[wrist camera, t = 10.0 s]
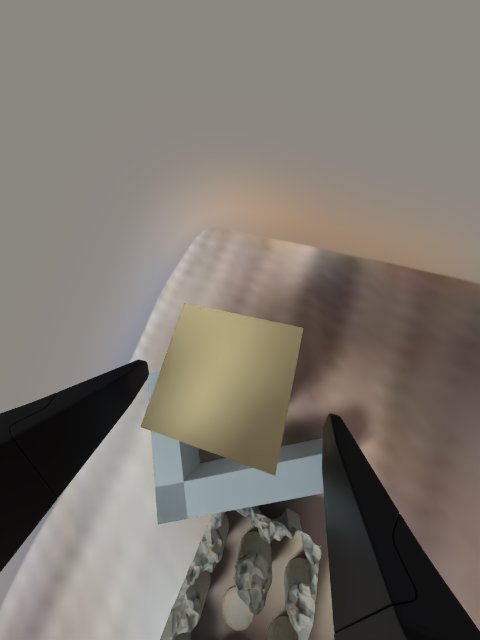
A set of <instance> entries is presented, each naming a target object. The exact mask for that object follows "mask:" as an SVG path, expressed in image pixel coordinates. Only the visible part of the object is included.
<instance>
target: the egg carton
mask: <svg viewBox="0 0 480 640" xmlns="http://www.w3.org/2000/svg"><path fill="white" fill-rule="evenodd" d="M236 511H237V512H239V513H240V514H241V515H242V516H244V517H248V516H250V515H251V521H252V524H253V525H254V526H256V527H257V529H258V531H259V532H258V531H251V532H248V533H247V534H245V535H244V537H243V538H242V540H241V543H240V547H239V552H238V557H237V562H236V566H235V577H234V579H235V584H236V586H233V587H231V588H229V589H228V590H227V592H226V593H225V595H224V597H223V601H222V613H223V616H224V619H225V621H226V623H227V625H228V626H229V627H231V628H232V629H234V630H235V631H238V630H239V631H240V630H245V629H247V628H248V627H249V626H250V624H251V622H252V621H253V617H254V615H257V614H258V613H259V612H260V611H261V610H262V609H263V607H264V605H265V600H266V596H267V593H268V590H269V587H270V585H271V582H272V551H271V545H270V542H271V541H272V540H273V539H276V540H277V541H281V540H282V538H283V537H284V536H285V535H286V536H288V537H289V538H290V539H293V537H294V534H295V532H296V531H299V532H300V533H301V536H302V541H303V547H304V551H305V554H306V559H303V558H294V559H292V560H290V561H289V563H288V564H287V566H286V568H285V574H284V585H285V602H286V605H285V609H286V611H287V613H288V616H289V617H287V616H280V617H277V618H276V619H275V620H273V621H272V622H271V624H270V627H269V631H268V640H308V638H309V635H310V632H311V629H312V626H313V622H314V612H315V604H316V594H317V581H318V569H319V560H320V559H321V552H322V545H320V546H318V545H316V544H315V543H314V542H313V541H312V539H311V537H310V536H309V535H308V534H306V533H304V532H302V528H301V522H300V518H299V514H297V513H295V512H293V511H291V510H290V509H285V511H284V513H283V514H282V515H281V516H280V517H278V518H274V519H271V518H267V517H266V516H264V515H263V514H262V513H261V512H260V510H259V508H258V506H253V507H247V508H242V509H237V510H236ZM228 531H229V521H228V518H227V516H226V514H225V512H221V513H215V514H213V516H212V518H211V520H210V522H209V524H208V526H207V529H206V531H205V533H204V536H203V538H202V541H201V542H200V545H199V547H198V550H197V552H196V555H195V558H194V560H193V562H192V564H191V566H190V568H189V570H188V573H187V576H186V578H185V580H184V583H183V585H182V587H181V590H180V592H179V594H178V597H177V599H176V601H175V603H174V606H173V608H172V610H171V613H170V615H169V618H168V621H167V623H166V626H165V628H164V631H163V634H162V636H161V639H160V640H191V632H192V630H193V628H194V627H195V626H196V625H197V623H198V621H199V619H200V617H201V613H202V610H203V607H204V603H205V600H206V597H207V593H208V590H209V586H210V579H211V576H210V572H213V570H214V568H215V566H216V564H217V563H218V562H219V561H220V560H221V559H222V555H223V548H224V545H225V541H226V538H227V534H228Z"/></svg>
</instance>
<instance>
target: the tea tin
mask: <svg viewBox="0 0 480 640" xmlns="http://www.w3.org/2000/svg"><path fill="white" fill-rule="evenodd" d="M302 333H303V328H302V327H297V326H293V325H288V324H283V323H278V322H273V321H269V320H264V319H259V318H254V317H250V316H245V315H240V314H235V313H230V312H226V311H221V310H216V309H211V308H206V307H202V306H197V305H192V304H187V303H184V305H183V308H182V311H181V313H180V316H179V319H178V322H177V325H176V328H175V331H174V333H173V336H172V339H171V342H170V345H169V348H168V351H167V353H166V356H165V359H164V362H163V365H162V368H161V370H160V373H159V376H158V379H157V382H156V385H155V388H154V390H153V393H152V396H151V399H150V402H149V405H148V408H147V410H146V413H145V416H144V419H143V422H142V425H141V427H142V428H145V429H147V430H150V431H153V432H156V433H159V434H161V435H164V436H167V437H170V438H172V439H175V440H178V441H181V442H183V443H186V444H189V445H192V446H194V447H197V448H200V449H203V450H205V451H208V452H211V453H214V454H216V455H219V456H222V457H225V458H228V459H230V460H233V461H236V462H239V463H241V464H244V465H247V466H250V467H252V468H255V469H258V470H261V471H263V472H266V473H269V474H272V475H274V476H275V475H276V470H277V464H278V459H279V454H280V449H281V443H282V438H283V433H284V428H285V422H286V417H287V412H288V406H289V401H290V396H291V391H292V385H293V380H294V375H295V370H296V364H297V359H298V354H299V349H300V343H301V338H302Z"/></svg>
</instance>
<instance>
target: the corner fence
mask: <svg viewBox="0 0 480 640" xmlns="http://www.w3.org/2000/svg"><path fill="white" fill-rule="evenodd" d="M159 373H160V371H159V372H155V373H151V374H149V376H148V392H149V402H150V399H151V396H152V393H153V390H154V388H155V385H156V382H157V379H158V376H159ZM151 435H152V449H153V463H154V477H155V491H156V505H157V519H158V524H162V523H167V522H173V521H178V520H183V519H189V518H194V517H199V516H205V515H210V514H215V513H221V512H226V511H231V510H237V509H242V508H247V507H253V506H258V505H263V504H269V503H274V502H279V501H285V500H290V499H296V498H301V497H306V496H312V495H317V494H322V493H324V491H323V477H322V448H323V438H319V439H314V440H310V441H305V442H300V443H295V444H290V445H285V446H281V449H280V454H279V459H278V464H277V470H276V475H275V476H274V475H272V474H269V473H266V472H263V471H261V470H258V469H255V468H252V467H250V466H247V465H244V464H241V463H239V462H236V461H233V460H230V459H228V458H222V459H217V460H213V461H208V462H203V463H200V455H199V448H197V447H194V446H192V445H189V444H186V443H183V442H181V441H178V440H175V439H172V438H170V437H167V436H164V435H161V434H159V433H156V432H153V431H151Z"/></svg>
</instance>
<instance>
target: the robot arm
mask: <svg viewBox="0 0 480 640" xmlns="http://www.w3.org/2000/svg"><path fill="white" fill-rule="evenodd" d="M148 376H149V370H148V365H147V362H146V361H143V360H136V361H134V362H131V363H129V364H126V365H124V366H121V367H119V368H117V369H114V370H112V371H109V372H107V373H104V374H102V375H99V376H97V377H94V378H92V379H89V380H87V381H84V382H82V383H79V384H77V385H74V386H72V387H69V388H67V389H65V390H62V391H59V392H58V393H54V394H52V395H50V396H47V397H45V398H42V399H39V400H37V401H34V402H32V403H29V404H26V405H23V406H21V407H18V408H15V409H12V410H9V411H6V412H4V413H1V414H0V572H1V571H2V569H3V568H4V567H5V566H6V564H7V563H8V562H9V561H10V559H11V558H12V557H13V555H14V554H15V553H16V552H17V550H18V549H19V548H20V546H21V545H22V544H23V542H24V541H25V540H26V539H27V537H28V536H29V535H30V534H31V532H32V531H33V530H34V528H35V527H36V526H37V524H38V523H39V522H40V521H41V519H42V518H43V517H44V516H45V514H46V513H47V511H48V510H49V509H50V508H51V507H52V505H53V504H54V503H55V501H56V500H57V498H58V497H59V496H60V495H61V493H62V492H63V491H64V490H65V488H66V487H67V486H68V484H69V483H70V482H71V481H72V479H73V478H74V477H75V475H76V474H77V473H78V472H79V470H80V469H81V468H82V466H83V465H84V464H85V463H86V461H87V460H88V459H89V457H90V456H91V455H92V454H93V452H94V451H95V450H96V448H97V447H98V446H99V445H100V443H101V442H102V441H103V439H104V438H105V437H106V436H107V434H108V433H109V432H110V430H111V429H112V428H113V427H114V425H115V424H116V423H117V421H118V420H119V419H120V418H121V416H122V415H123V414H124V412H125V411H126V410H127V409H128V407H129V406H130V405H131V403H132V402H133V400H134V399H135V397H136V396H137V394H138V392H139V391H140V389H141V388H142V386H143V384H144V383H145V381H146V380H147V378H148ZM322 477H323V491H324V504H325V517H326V530H327V544H328V557H329V570H330V583H331V596H332V610H333V623H334V632H335V634H334V638H335V640H480V631H479V629H478V628H477V627H476V625H475V624H474V622H473V621H472V620H471V618H470V617H469V615H468V614H467V612H466V611H465V610H464V608H463V607H462V605H461V604H460V602H459V601H458V600H457V598H456V597H455V595H454V594H453V593H452V591H451V590H450V588H449V587H448V585H447V584H446V583H445V581H444V580H443V578H442V577H441V575H440V574H439V572H438V571H437V570H436V568H435V567H434V565H433V564H432V562H431V561H430V559H429V558H428V556H427V555H426V553H425V552H424V551H423V549H422V547H421V546H420V544H419V543H418V541H417V540H416V538H415V536H414V535H413V533H412V532H411V530H410V529H409V527H408V525H407V524H406V522H405V521H404V519H403V517H402V516H401V515H400V514H399V511H398V509H397V508H396V506H395V505H394V503H393V501H392V500H391V498H390V496H389V495H388V493H387V492H386V490H385V488H384V487H383V485H382V483H381V482H380V480H379V479H378V477H377V475H376V474H375V472H374V470H373V469H372V467H371V466H370V464H369V462H368V461H367V459H366V458H365V456H364V454H363V453H362V451H361V449H360V448H359V446H358V445H357V443H356V441H355V440H354V438H353V436H352V435H351V433H350V432H349V430H348V428H347V427H346V425H345V423H344V422H343V420H342V419H341V417H340V416H338V415H335V414H329V415H328V417H327V419H326V422H325V424H324V427H323V448H322Z"/></svg>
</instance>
